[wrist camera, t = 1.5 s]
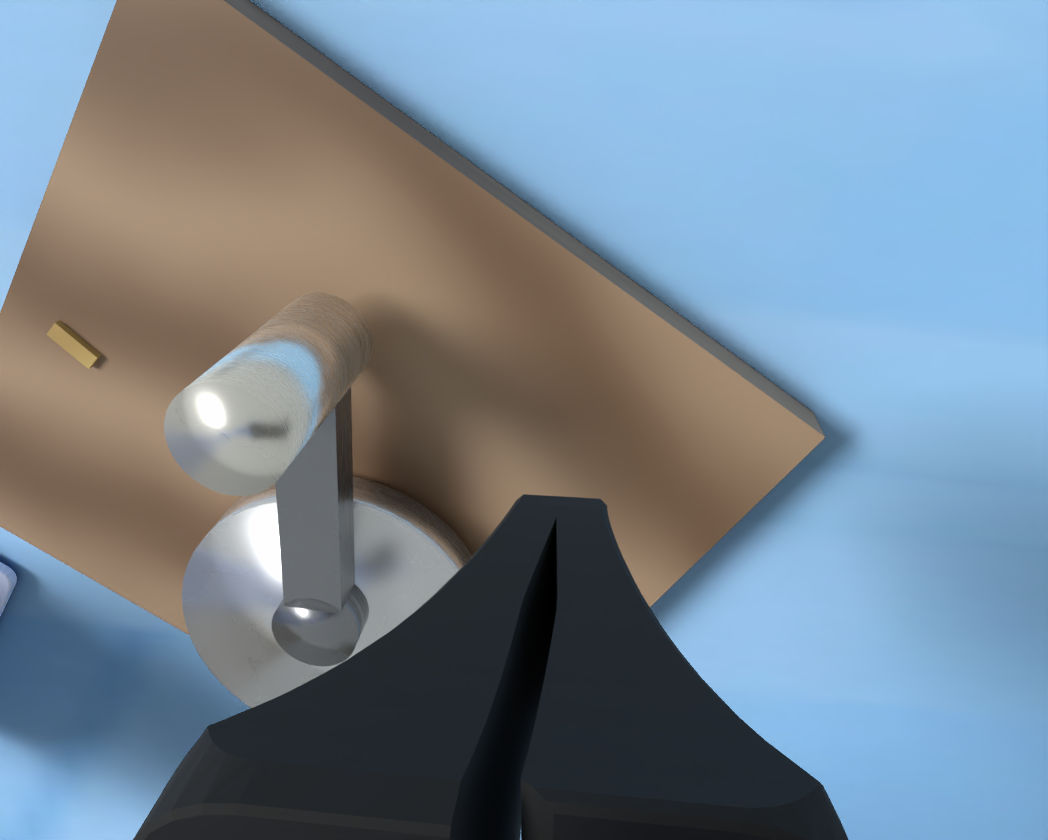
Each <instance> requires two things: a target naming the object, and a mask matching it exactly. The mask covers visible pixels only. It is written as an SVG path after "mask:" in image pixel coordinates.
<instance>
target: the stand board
mask: <svg viewBox="0 0 1048 840" xmlns="http://www.w3.org/2000/svg"><path fill="white" fill-rule="evenodd" d="M310 293H326V294H331V295H334V296H337V297H339V298H342V299H344V300H345V301H347V302H348V303H350V304H351V305H352V306H354V307H355V308H356V309H357V310H358V311H359V312H360V314H361V315H362V316H363V318H364V319H365V321H366V323H367V325H368V327H369V329H370V332H371V337H372V353H371V357H370V360H369V363H368V364H367V366H366V368H365V369H364V370H363V371H362V373H361V374H360V375H359V377H358V378H357V379H356V380H355V382H354V383H353V384H352V386H351V406H352V457H353V477H357V478H363V479H366V480H369V481H372V482H376V483H379V484H382V485H385V486H387V487H389V488H392V489H394V490H396V491H399V492H401V493H403V494H404V495H406V496H408V497H410V498H412V499H413V500H415V501H417V502H419V503H420V504H422V505H423V506H424V507H426V508H427V509H429V510H430V511H431V512H433V513H434V514H435V515H437V516H438V517H439V518H440V519H441V520H442V521H443V522H444V523H445V524H447V525H448V526H449V527H450V528H451V529H452V530H453V532H454V533H455V534H456V535H457V536H458V537H459V539H460V540H461V541H462V542H463V543H464V545H465V546H466V548H467V549H468V551H469V552H470V554H471V555H472V556H473V554H474V553H475V552H476V551H477V550H478V549H479V548H480V546H481V545H482V544H483V543H484V542H485V541H486V540H487V538H488V537H489V536H490V535H491V534H492V532H493V531H494V530H495V529H496V527H497V526H498V525H499V524H500V522H501V521H502V520H503V518H504V517H505V516H506V514H507V513H508V512H509V510H510V509H511V507H512V506H513V504H514V503H515V501H516V500H517V499H518V498H520V497H521V496H522V495H523V494H527V495H544V496H562V497H580V498H597V499H601V500H602V501H603V502H604V503H605V504H606V505H607V511H608V516H609V521H610V524H611V527H612V531H613V533H614V536H615V539H616V541H617V544H618V547H619V549H620V551H621V554H622V556H623V558H624V560H625V562H626V564H627V566H628V568H629V570H630V573H631V575H632V577H633V579H634V581H635V583H636V584H637V586H638V588H639V590H640V592H641V594H642V595H643V597H644V599H645V600H646V602H647V604H648V605H649V607H651V606H652V605H653V604H654V603H655V602H656V601H657V600H658V599H659V598H660V597H661V596H662V595H663V594H664V593H665V592H666V591H667V590H668V589H669V588H670V587H671V586H672V585H673V584H674V583H675V582H677V581H678V580H679V579H680V578H681V577H682V576H683V575H684V574H685V573H686V572H687V571H688V570H689V569H690V568H691V567H692V566H693V565H694V564H695V563H696V562H697V561H698V560H699V559H700V558H701V557H702V556H703V555H704V554H705V553H706V552H708V551H709V550H710V549H711V548H712V547H713V546H714V545H715V544H716V543H717V542H718V541H719V540H720V539H721V538H722V537H723V536H724V535H725V534H726V533H727V532H728V531H729V530H730V529H731V528H732V527H733V526H734V525H735V524H736V523H737V522H738V521H740V520H741V519H742V518H743V517H744V516H745V515H746V514H747V513H748V512H749V511H750V510H751V509H752V508H753V507H754V506H755V505H756V504H757V503H758V502H759V501H760V500H761V499H762V498H763V497H764V496H765V495H766V494H767V493H768V492H769V491H771V490H772V489H773V488H774V487H775V486H776V485H777V484H778V483H779V482H780V481H781V480H782V479H783V478H784V477H785V476H786V475H787V474H788V473H789V472H790V471H791V470H792V469H793V468H794V467H795V466H796V465H797V464H798V463H799V462H800V461H801V460H803V459H804V458H805V457H806V456H807V455H808V454H809V453H810V452H811V451H812V450H813V449H814V448H815V447H816V446H817V445H818V444H819V443H820V442H821V441H822V440H823V439H824V438H825V435H824V433H823V431H822V429H821V427H820V425H819V423H818V421H817V419H816V417H815V414H814V413H813V412H812V411H811V410H809V409H808V408H807V407H805V406H804V405H802V404H801V403H800V402H798V401H797V400H796V399H794V398H793V397H792V396H790V395H789V394H787V393H786V392H785V391H783V390H782V389H781V388H779V387H778V386H776V385H775V384H774V383H772V382H771V381H770V380H768V379H767V378H765V377H764V376H763V375H761V374H760V373H759V372H757V371H756V370H755V369H753V368H752V367H750V366H749V365H748V364H746V363H745V362H744V361H742V360H741V359H739V358H738V357H737V356H735V355H734V354H733V353H731V352H730V351H729V350H727V349H726V348H724V347H723V346H722V345H720V344H719V343H718V342H716V341H715V340H713V339H712V338H711V337H709V336H708V335H707V334H705V333H704V332H703V331H701V330H700V329H698V328H697V327H696V326H694V325H693V324H692V323H690V322H689V321H687V320H686V319H685V318H683V317H682V316H681V315H679V314H678V313H676V312H675V311H674V310H672V309H671V308H670V307H668V306H667V305H666V304H664V303H663V302H661V301H660V300H659V299H657V298H656V297H655V296H653V295H652V294H650V293H649V292H648V291H646V290H645V289H644V288H642V287H641V286H640V285H638V284H637V283H635V282H634V281H633V280H631V279H630V278H629V277H627V276H626V275H624V274H623V273H622V272H620V271H619V270H618V269H616V268H615V267H613V266H612V265H611V264H609V263H608V262H607V261H605V260H604V259H603V258H601V257H600V256H598V255H597V254H596V253H594V252H593V251H592V250H590V249H589V248H587V247H586V246H585V245H583V244H582V243H581V242H579V241H578V240H577V239H575V238H574V237H572V236H571V235H570V234H568V233H567V232H566V231H564V230H563V229H561V228H560V227H559V226H557V225H556V224H555V223H553V222H552V221H550V220H549V219H548V218H546V217H545V216H544V215H542V214H541V213H540V212H538V211H537V210H535V209H534V208H533V207H531V206H530V205H529V204H527V203H526V202H524V201H523V200H522V199H520V198H519V197H518V196H516V195H515V194H514V193H512V192H511V191H509V190H508V189H507V188H505V187H504V186H503V185H501V184H500V183H498V182H497V181H496V180H494V179H493V178H492V177H490V176H489V175H487V174H486V173H485V172H483V171H482V170H481V169H479V168H478V167H477V166H475V165H474V164H472V163H471V162H470V161H468V160H467V159H466V158H464V157H463V156H461V155H460V154H459V153H457V152H456V151H455V150H453V149H452V148H451V147H449V146H448V145H446V144H445V143H444V142H442V141H441V140H440V139H438V138H437V137H435V136H434V135H433V134H431V133H430V132H429V131H427V130H426V129H424V128H423V127H422V126H420V125H419V124H418V123H416V122H415V121H414V120H412V119H411V118H409V117H408V116H407V115H405V114H404V113H403V112H401V111H400V110H398V109H397V108H396V107H394V106H393V105H392V104H390V103H389V102H388V101H386V100H385V99H383V98H382V97H381V96H379V95H378V94H377V93H375V92H374V91H372V90H371V89H370V88H368V87H367V86H366V85H364V84H363V83H362V82H360V81H359V80H357V79H356V78H355V77H353V76H352V75H351V74H349V73H348V72H346V71H345V70H344V69H342V68H341V67H340V66H338V65H337V64H335V63H334V62H333V61H331V60H330V59H329V58H327V57H326V56H325V55H323V54H322V53H320V52H319V51H318V50H316V49H315V48H314V47H312V46H311V45H309V44H308V43H307V42H305V41H304V40H303V39H301V38H300V37H299V36H297V35H296V34H294V33H293V32H292V31H290V30H289V29H288V28H286V27H285V26H283V25H282V24H281V23H279V22H278V21H277V20H275V19H274V18H272V17H271V16H270V15H268V14H267V13H266V12H264V11H263V10H262V9H260V8H259V7H257V6H256V5H255V4H253V3H252V2H251V1H249V0H117V1H116V4H115V7H114V9H113V12H112V15H111V18H110V20H109V23H108V26H107V28H106V31H105V34H104V36H103V39H102V42H101V44H100V47H99V50H98V52H97V55H96V58H95V60H94V63H93V66H92V68H91V71H90V74H89V76H88V79H87V82H86V85H85V87H84V90H83V93H82V95H81V98H80V101H79V103H78V106H77V109H76V111H75V114H74V117H73V119H72V122H71V125H70V127H69V130H68V133H67V135H66V138H65V141H64V143H63V146H62V149H61V152H60V154H59V157H58V160H57V162H56V165H55V168H54V170H53V173H52V176H51V178H50V181H49V184H48V186H47V189H46V192H45V194H44V197H43V200H42V202H41V205H40V208H39V210H38V213H37V216H36V219H35V221H34V224H33V227H32V229H31V232H30V235H29V237H28V240H27V243H26V245H25V248H24V251H23V253H22V256H21V259H20V261H19V264H18V267H17V269H16V272H15V275H14V277H13V280H12V283H11V285H10V288H9V291H8V294H7V296H6V299H5V302H4V304H3V307H2V310H1V312H0V527H2V528H4V529H5V530H7V531H9V532H11V533H12V534H14V535H16V536H18V537H19V538H21V539H23V540H25V541H26V542H28V543H30V544H32V545H33V546H35V547H37V548H39V549H40V550H42V551H44V552H45V553H47V554H49V555H51V556H52V557H54V558H56V559H58V560H59V561H61V562H63V563H65V564H66V565H68V566H70V567H72V568H73V569H75V570H77V571H79V572H80V573H82V574H84V575H86V576H87V577H89V578H91V579H93V580H94V581H96V582H98V583H99V584H101V585H103V586H105V587H106V588H108V589H110V590H112V591H113V592H115V593H117V594H119V595H120V596H122V597H124V598H126V599H127V600H129V601H131V602H133V603H134V604H136V605H138V606H140V607H141V608H143V609H145V610H146V611H148V612H150V613H152V614H153V615H155V616H157V617H159V618H160V619H162V620H164V621H166V622H167V623H169V624H171V625H173V626H174V627H176V628H178V629H180V630H181V631H183V632H185V633H187V634H188V635H189V632H188V630H187V627H186V623H185V619H184V614H183V608H182V586H183V578H184V575H185V571H186V568H187V565H188V563H189V561H190V559H191V556H192V554H193V552H194V551H195V549H196V548H197V547H198V545H199V544H200V543H201V541H202V540H203V538H204V537H205V536H206V535H207V534H208V532H209V531H210V530H211V529H212V528H213V527H214V525H215V524H216V523H217V522H218V521H219V519H220V518H221V517H222V516H223V515H224V513H225V512H226V511H227V510H228V509H229V508H230V507H231V506H232V505H233V504H234V503H235V502H236V501H237V500H238V499H240V498H241V497H243V496H233V495H227V494H222V493H219V492H216V491H213V490H211V489H209V488H207V487H205V486H203V485H201V484H200V483H198V482H197V481H195V480H194V479H192V478H191V477H190V476H189V475H188V474H187V473H186V472H185V471H184V470H183V469H182V468H181V467H180V466H179V464H178V463H177V462H176V460H175V459H174V457H173V456H172V454H171V452H170V450H169V448H168V445H167V442H166V438H165V432H164V420H165V415H166V411H167V409H168V407H169V405H170V403H171V402H172V400H173V399H174V398H175V397H176V396H177V395H178V394H179V393H180V392H181V391H182V390H184V389H185V388H186V387H187V386H189V385H190V384H191V383H192V382H194V381H195V380H196V379H197V378H199V377H200V376H201V375H202V374H203V373H205V372H206V371H207V370H208V369H210V368H211V367H212V366H213V365H215V364H216V363H217V362H218V361H220V360H221V359H222V358H223V357H224V356H226V355H227V354H228V353H229V352H231V351H232V350H233V349H234V348H236V347H237V346H238V345H239V344H241V343H242V342H243V341H244V340H245V339H247V338H248V337H249V336H250V335H252V334H253V333H254V332H255V331H257V330H258V329H259V328H260V327H262V326H263V325H264V324H265V323H266V322H268V321H269V320H270V319H271V318H273V317H274V316H275V315H276V314H278V313H279V312H280V311H281V310H283V309H284V308H285V307H286V306H287V305H289V304H290V303H291V302H292V301H294V300H295V299H297V298H299V297H300V296H303V295H306V294H310Z"/></svg>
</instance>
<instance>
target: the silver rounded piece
mask: <svg viewBox="0 0 1048 840" xmlns="http://www.w3.org/2000/svg"><path fill="white" fill-rule="evenodd" d="M371 353H372V337H371V332H370V329H369V327H368V325H367V323H366V321H365V319H364V318H363V316H362V315H361V314H360V312H359V311H358V310H357V309H356V308H355V307H354V306H352V305H351V304H350V303H348V302H347V301H345V300H344V299H342V298H339V297H337V296H334V295H331V294H326V293H310V294H306V295H303V296H300V297H299V298H297V299H295V300H294V301H292V302H291V303H290V304H289V305H287V306H286V307H285V308H284V309H283V310H281V311H280V312H279V313H278V314H276V315H275V316H274V317H273V318H271V319H270V320H269V321H268V322H266V323H265V324H264V325H263V326H262V327H260V328H259V329H258V330H257V331H255V332H254V333H253V334H252V335H250V336H249V337H248V338H247V339H245V340H244V341H243V342H242V343H241V344H239V345H238V346H237V347H236V348H234V349H233V350H232V351H231V352H229V353H228V354H227V355H226V356H224V357H223V358H222V359H221V360H220V361H218V362H217V363H216V364H215V365H213V366H212V367H211V368H210V369H208V370H207V371H206V372H205V373H203V374H202V375H201V376H200V377H199V378H197V379H196V380H195V381H194V382H192V383H191V384H190V385H189V386H187V387H186V388H185V389H184V390H182V391H181V392H180V393H179V394H178V395H177V396H176V397H175V398H174V399H173V400H172V402H171V403H170V405H169V407H168V409H167V411H166V415H165V420H164V432H165V438H166V442H167V445H168V448H169V450H170V452H171V454H172V456H173V457H174V459H175V460H176V462H177V463H178V464H179V466H180V467H181V468H182V469H183V470H184V471H185V472H186V473H187V474H188V475H189V476H190V477H191V478H192V479H194V480H195V481H197V482H198V483H200V484H201V485H203V486H205V487H207V488H209V489H211V490H213V491H216V492H219V493H222V494H227V495H233V496H243V497H241V498H240V499H238V500H237V501H236V502H235V503H234V504H233V505H232V506H231V507H230V508H229V509H228V510H227V511H226V512H225V513H224V515H223V516H222V517H221V518H220V519H219V521H218V522H217V523H216V524H215V525H214V527H213V528H212V529H211V530H210V531H209V532H208V534H207V535H206V536H205V537H204V538H203V540H202V541H201V543H200V544H199V545H198V547H197V548H196V549H195V551H194V552H193V554H192V556H191V559H190V561H189V563H188V565H187V568H186V571H185V575H184V578H183V586H182V608H183V614H184V619H185V623H186V627H187V630H188V632H189V635H190V638H191V640H192V642H193V644H194V646H195V648H196V650H197V652H198V654H199V655H200V657H201V658H202V660H203V661H204V663H205V664H206V666H207V667H208V668H209V670H210V671H211V672H212V673H213V674H214V676H215V677H216V678H217V679H218V680H219V681H220V682H221V684H223V685H224V686H225V687H226V688H227V689H228V690H229V691H230V692H231V693H232V694H233V695H234V696H236V697H237V698H238V699H240V700H241V701H242V702H244V703H245V704H246V705H247V706H249V707H250V708H253V707H255V706H258V705H260V704H262V703H265V702H267V701H269V700H272V699H274V698H276V697H278V696H280V695H282V694H285V693H287V692H289V691H291V690H293V689H295V688H297V687H299V686H301V685H302V684H304V683H306V682H308V681H310V680H312V679H314V678H316V677H318V676H320V675H322V674H323V673H325V672H327V671H329V670H330V669H332V668H334V667H336V666H337V665H339V664H341V663H343V662H344V661H346V660H348V659H349V658H351V657H352V656H354V655H355V654H357V653H358V652H360V651H361V650H363V649H364V648H366V647H367V646H369V645H370V644H372V643H373V642H375V641H376V640H378V639H379V638H381V637H383V636H384V635H385V634H387V633H388V632H390V631H391V630H392V629H394V628H395V627H396V626H398V625H399V624H400V623H401V622H403V621H404V620H405V619H406V618H408V617H409V616H410V615H411V614H413V613H414V612H415V611H416V610H417V609H418V608H420V607H421V606H422V605H423V604H424V603H425V602H426V601H428V600H429V599H430V598H431V597H432V596H433V595H434V594H435V593H436V592H437V591H438V590H439V589H440V588H441V587H442V586H443V585H444V584H445V583H446V582H448V581H449V580H450V579H451V578H452V577H453V576H454V575H455V574H456V573H457V572H458V571H459V570H460V569H461V568H462V567H463V566H464V564H465V563H466V562H467V561H468V560H469V559H470V558H471V557H472V555H471V554H470V552H469V551H468V549H467V548H466V546H465V545H464V543H463V542H462V541H461V540H460V539H459V537H458V536H457V535H456V534H455V533H454V532H453V530H452V529H451V528H450V527H449V526H448V525H447V524H445V523H444V522H443V521H442V520H441V519H440V518H439V517H438V516H437V515H435V514H434V513H433V512H431V511H430V510H429V509H427V508H426V507H424V506H423V505H422V504H420V503H419V502H417V501H415V500H413V499H412V498H410V497H408V496H406V495H404V494H403V493H401V492H399V491H396V490H394V489H392V488H389V487H387V486H385V485H382V484H379V483H376V482H372V481H369V480H366V479H363V478H357V477H353V457H352V406H351V386H352V384H353V383H354V382H355V380H356V379H357V378H358V377H359V375H360V374H361V373H362V371H363V370H364V369H365V368H366V366H367V364H368V363H369V360H370V357H371Z"/></svg>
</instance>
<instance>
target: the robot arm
mask: <svg viewBox="0 0 1048 840" xmlns="http://www.w3.org/2000/svg"><path fill="white" fill-rule="evenodd" d="M16 583H17V577H16V574H15V572H14V571H13V570H12V569H11V568H10V567H8V566H7V565H5V564H3V563H1V562H0V617H1V614H2V612H3V610H4V608H5V606H6V604H7V602H8V600H9V598H10V595H11V593H12V591H13V589H14V587H15V585H16ZM520 831H521V837H522V840H848V838H847V835H846V833H845V831H844V828H843V826H842V824H841V821H840V819H839V817H838V815H837V813H836V811H835V809H834V807H833V805H832V803H831V801H830V799H829V797H828V795H827V793H826V791H825V789H824V787H823V785H822V784H821V783H820V782H819V781H818V780H816V779H815V778H814V777H812V776H811V775H810V774H808V773H807V772H806V771H804V770H803V769H802V768H800V767H799V766H798V765H797V764H795V763H794V762H793V761H791V760H790V759H789V758H787V757H786V756H785V755H783V754H782V753H781V752H780V751H778V750H777V749H776V748H774V747H773V746H772V745H770V744H769V743H768V742H766V741H765V740H764V739H763V738H762V737H761V736H759V735H758V734H757V733H756V732H755V731H754V730H753V729H752V728H750V727H749V726H748V725H747V724H746V723H745V722H744V721H743V720H742V719H740V718H739V717H738V716H737V715H736V714H735V713H734V712H733V711H732V710H731V708H730V707H729V706H728V705H727V704H726V703H725V702H724V701H723V700H722V699H721V698H720V697H719V696H718V695H717V694H716V693H715V692H714V691H713V690H712V689H711V688H710V687H709V685H708V684H707V683H706V682H705V681H704V680H703V679H702V678H701V677H700V676H699V675H698V673H697V672H696V671H695V670H694V668H693V667H692V666H691V665H690V663H689V662H688V661H687V660H686V659H685V657H684V656H683V655H682V654H681V652H680V651H679V650H678V648H677V647H676V646H675V644H674V643H673V642H672V640H671V639H670V637H669V636H668V635H667V633H666V632H665V630H664V629H663V627H662V626H661V625H660V623H659V621H658V620H657V618H656V617H655V615H654V614H653V612H652V610H651V609H650V607H649V605H648V604H647V602H646V600H645V599H644V597H643V595H642V594H641V592H640V590H639V588H638V586H637V584H636V583H635V581H634V579H633V577H632V575H631V573H630V570H629V568H628V566H627V564H626V562H625V560H624V558H623V556H622V554H621V551H620V549H619V547H618V544H617V541H616V539H615V536H614V533H613V531H612V527H611V524H610V521H609V516H608V511H607V505H606V504H605V503H604V502H603V501H602V500H601V499H597V498H580V497H562V496H544V495H527V494H523V495H522V496H521V497H520V498H518V499H517V500H516V501H515V503H514V504H513V506H512V507H511V509H510V510H509V512H508V513H507V514H506V516H505V517H504V518H503V520H502V521H501V522H500V524H499V525H498V526H497V527H496V529H495V530H494V531H493V532H492V534H491V535H490V536H489V537H488V538H487V540H486V541H485V542H484V543H483V544H482V545H481V546H480V548H479V549H478V550H477V551H476V552H475V553H474V554H473V556H472V557H471V558H470V559H469V560H468V561H467V562H466V563H465V564H464V566H463V567H462V568H461V569H460V570H459V571H458V572H457V573H456V574H455V575H454V576H453V577H452V578H451V579H450V580H449V581H448V582H446V583H445V584H444V585H443V586H442V587H441V588H440V589H439V590H438V591H437V592H436V593H435V594H434V595H433V596H432V597H431V598H430V599H429V600H428V601H426V602H425V603H424V604H423V605H422V606H421V607H420V608H418V609H417V610H416V611H415V612H414V613H413V614H411V615H410V616H409V617H408V618H406V619H405V620H404V621H403V622H401V623H400V624H399V625H398V626H396V627H395V628H394V629H392V630H391V631H390V632H388V633H387V634H385V635H384V636H383V637H381V638H379V639H378V640H376V641H375V642H373V643H372V644H370V645H369V646H367V647H366V648H364V649H363V650H361V651H360V652H358V653H357V654H355V655H354V656H352V657H351V658H349V659H348V660H346V661H344V662H343V663H341V664H339V665H337V666H336V667H334V668H332V669H330V670H329V671H327V672H325V673H323V674H322V675H320V676H318V677H316V678H314V679H312V680H310V681H308V682H306V683H304V684H302V685H301V686H299V687H297V688H295V689H293V690H291V691H289V692H287V693H285V694H282V695H280V696H278V697H276V698H274V699H272V700H269V701H267V702H265V703H262V704H260V705H258V706H255V707H253V708H251V709H248V710H246V711H244V712H241V713H239V714H237V715H234V716H232V717H230V718H227V719H225V720H223V721H220V722H217V723H215V724H212V725H210V726H208V727H207V728H206V730H205V731H204V733H203V734H202V735H201V737H200V738H199V740H198V741H197V742H196V743H195V745H194V746H193V747H192V749H191V750H190V751H189V752H188V754H187V755H186V756H185V758H184V759H183V761H182V762H181V764H180V765H179V767H178V768H177V770H176V771H175V773H174V774H173V775H172V777H171V779H170V780H169V782H168V784H167V785H166V787H165V788H164V790H163V792H162V793H161V795H160V797H159V798H158V800H157V802H156V803H155V805H154V806H153V808H152V810H151V811H150V813H149V815H148V816H147V818H146V820H145V821H144V823H143V824H142V826H141V828H140V829H139V831H138V833H137V834H136V836H135V838H134V839H133V840H520Z"/></svg>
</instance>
